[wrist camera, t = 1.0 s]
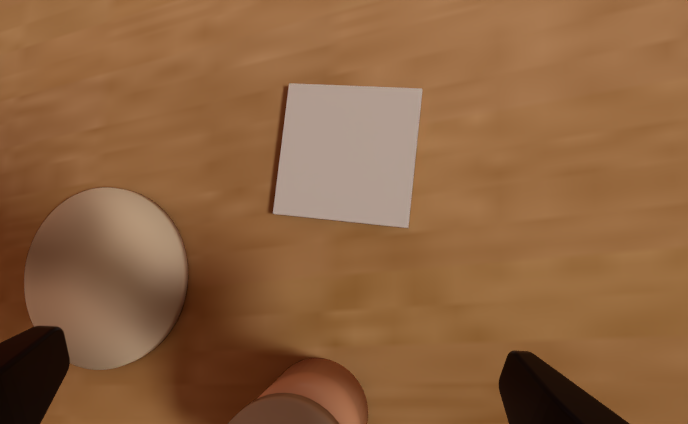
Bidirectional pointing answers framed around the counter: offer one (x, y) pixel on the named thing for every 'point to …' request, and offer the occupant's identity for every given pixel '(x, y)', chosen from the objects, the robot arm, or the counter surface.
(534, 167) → the counter surface
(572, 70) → the counter surface
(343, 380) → the spice jar
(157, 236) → the coaster
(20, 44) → the counter surface
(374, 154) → the pad
